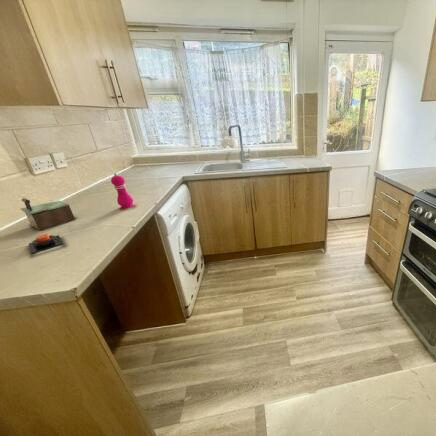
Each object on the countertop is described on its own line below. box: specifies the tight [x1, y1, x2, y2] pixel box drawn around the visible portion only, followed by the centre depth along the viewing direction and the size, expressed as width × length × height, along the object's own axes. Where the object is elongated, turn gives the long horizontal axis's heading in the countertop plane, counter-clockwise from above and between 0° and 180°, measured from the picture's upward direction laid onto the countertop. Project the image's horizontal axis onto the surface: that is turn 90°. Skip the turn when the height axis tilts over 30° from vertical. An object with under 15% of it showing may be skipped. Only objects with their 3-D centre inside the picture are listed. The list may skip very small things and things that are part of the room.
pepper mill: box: [110, 172, 135, 210], centre depth 130 cm, size 7×7×20 cm
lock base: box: [28, 234, 64, 255], centre depth 95 cm, size 11×9×4 cm
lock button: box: [35, 233, 50, 242], centre depth 94 cm, size 4×4×2 cm
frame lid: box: [20, 197, 70, 214], centre depth 114 cm, size 14×11×6 cm
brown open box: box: [24, 205, 76, 232], centre depth 117 cm, size 13×11×8 cm
